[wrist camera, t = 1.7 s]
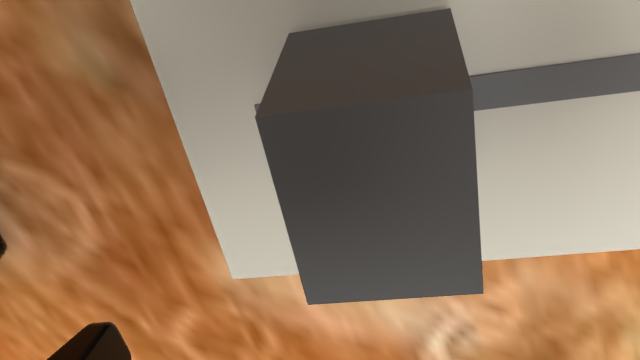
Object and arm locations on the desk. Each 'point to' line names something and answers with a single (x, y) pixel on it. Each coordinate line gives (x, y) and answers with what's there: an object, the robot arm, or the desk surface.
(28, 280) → the desk surface
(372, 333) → the desk surface
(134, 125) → the desk surface
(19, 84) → the desk surface
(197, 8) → the block
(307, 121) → the block
